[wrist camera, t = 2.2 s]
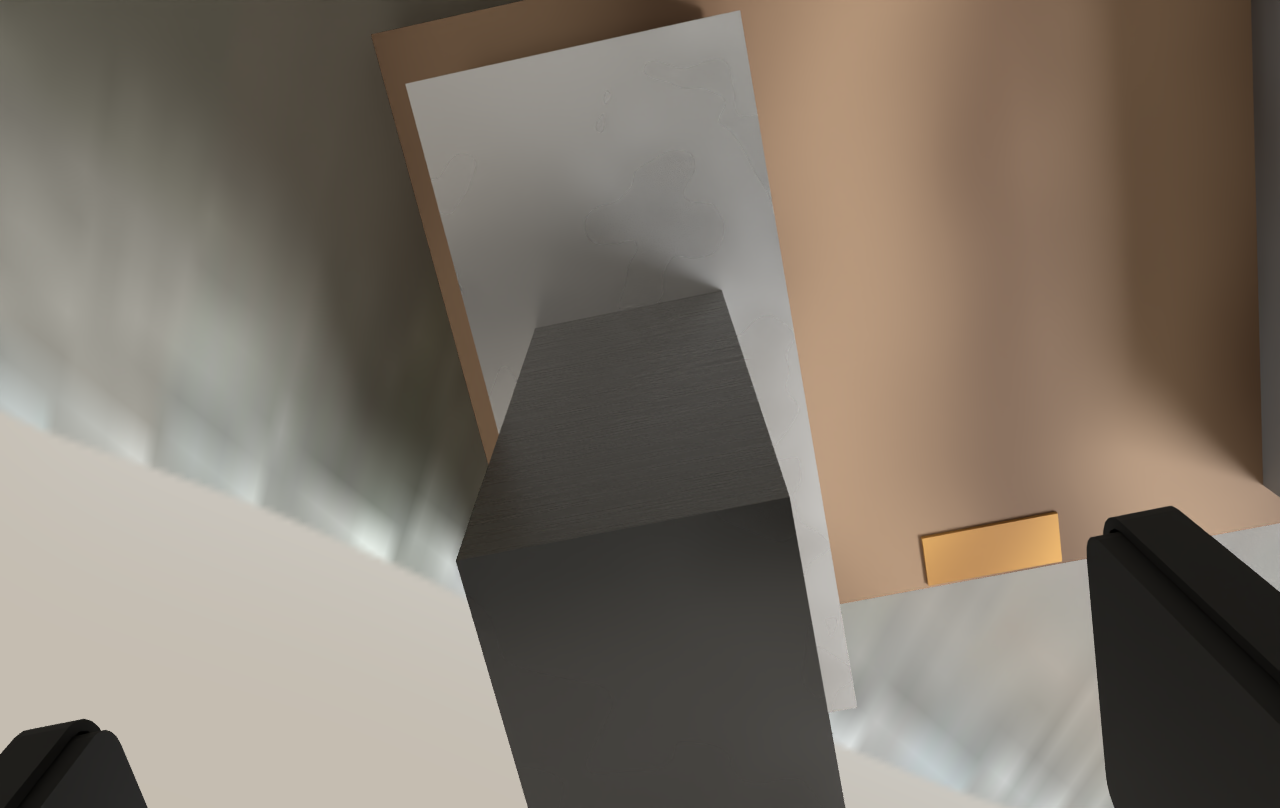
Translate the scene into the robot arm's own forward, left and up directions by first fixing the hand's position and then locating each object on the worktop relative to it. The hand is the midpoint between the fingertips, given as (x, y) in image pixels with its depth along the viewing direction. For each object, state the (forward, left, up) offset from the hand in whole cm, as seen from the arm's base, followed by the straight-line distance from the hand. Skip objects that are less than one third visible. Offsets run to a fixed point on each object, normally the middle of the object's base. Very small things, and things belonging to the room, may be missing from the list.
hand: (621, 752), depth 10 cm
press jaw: (0, 0, -13) cm, 13 cm away
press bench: (-8, 0, -15) cm, 18 cm away
